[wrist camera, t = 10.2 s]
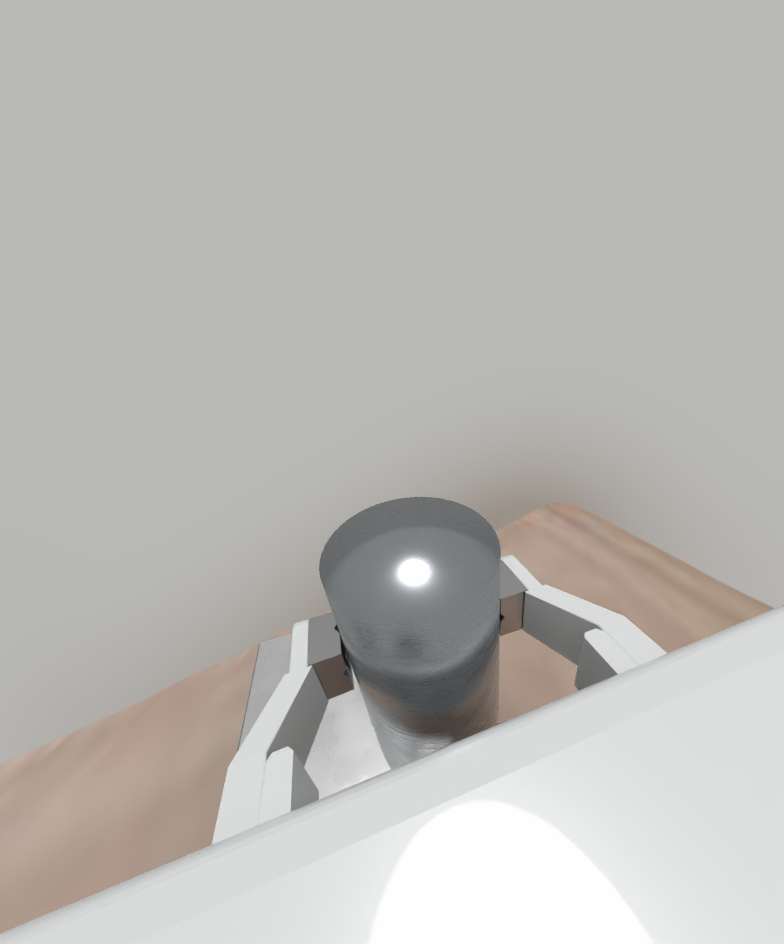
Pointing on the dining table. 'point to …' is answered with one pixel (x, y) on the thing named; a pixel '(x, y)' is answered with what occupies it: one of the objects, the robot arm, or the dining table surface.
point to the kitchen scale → (321, 725)
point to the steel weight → (419, 620)
